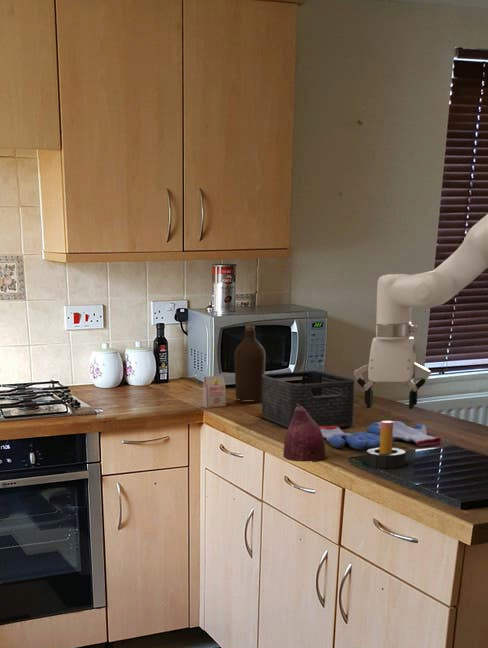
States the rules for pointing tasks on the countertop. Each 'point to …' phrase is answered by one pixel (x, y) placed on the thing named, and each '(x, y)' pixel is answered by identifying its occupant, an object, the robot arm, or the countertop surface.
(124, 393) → the countertop surface
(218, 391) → the pink carton
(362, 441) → the pair of gloves
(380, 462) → the tape
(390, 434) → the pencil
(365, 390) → the robot arm
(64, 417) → the countertop surface
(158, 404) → the countertop surface
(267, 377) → the storage bin
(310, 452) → the vegetable
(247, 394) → the brown bottle
